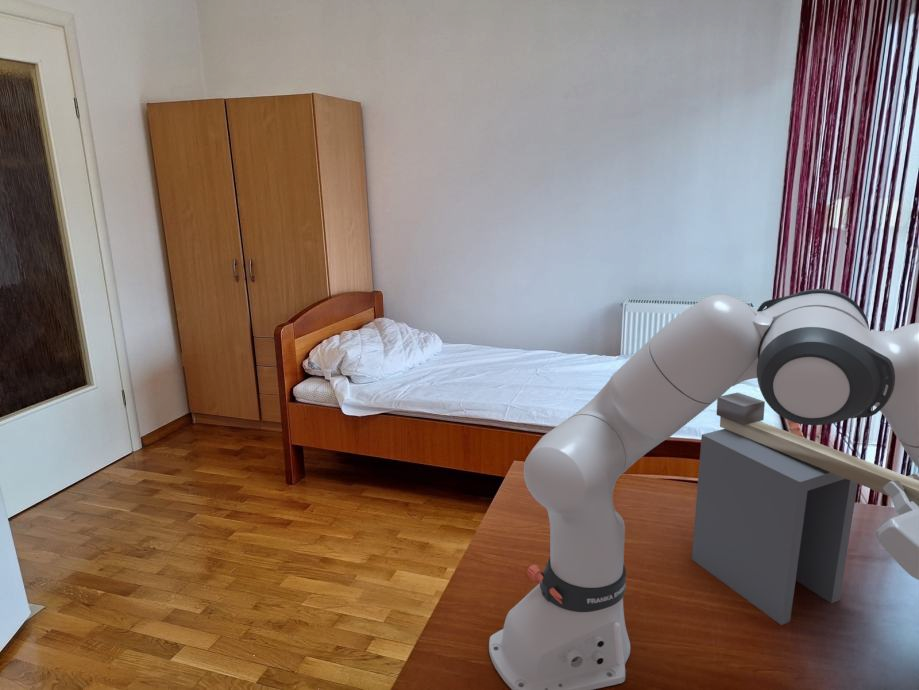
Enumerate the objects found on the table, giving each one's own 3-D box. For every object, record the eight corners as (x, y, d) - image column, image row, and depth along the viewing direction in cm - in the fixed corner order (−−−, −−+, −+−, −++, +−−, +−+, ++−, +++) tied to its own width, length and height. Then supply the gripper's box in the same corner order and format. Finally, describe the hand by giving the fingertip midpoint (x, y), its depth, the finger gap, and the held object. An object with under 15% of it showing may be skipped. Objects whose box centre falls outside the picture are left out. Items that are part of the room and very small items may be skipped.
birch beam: (922, 513, 84) (928, 472, 82) (715, 427, 116) (717, 396, 114) (945, 505, 85) (952, 464, 84) (735, 422, 118) (737, 392, 116)
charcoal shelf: (781, 625, 102) (799, 482, 95) (691, 559, 120) (701, 434, 113) (839, 600, 108) (861, 462, 101) (745, 540, 125) (758, 420, 118)
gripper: (1052, 534, 81) (959, 451, 90) (957, 579, 74) (865, 483, 82) (1014, 558, 86) (929, 476, 94) (921, 602, 78) (837, 508, 87)
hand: (899, 479), depth 88 cm, fingers closed on birch beam, 3 cm apart
